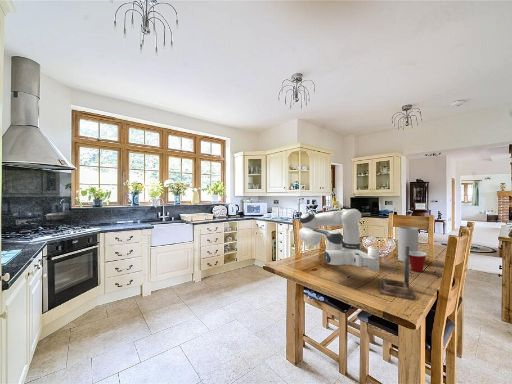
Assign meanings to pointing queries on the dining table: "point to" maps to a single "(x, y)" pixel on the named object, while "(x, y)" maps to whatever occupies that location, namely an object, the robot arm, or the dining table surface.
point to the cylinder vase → (407, 241)
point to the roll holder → (398, 283)
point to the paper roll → (374, 256)
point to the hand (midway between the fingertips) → (374, 256)
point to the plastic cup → (417, 260)
